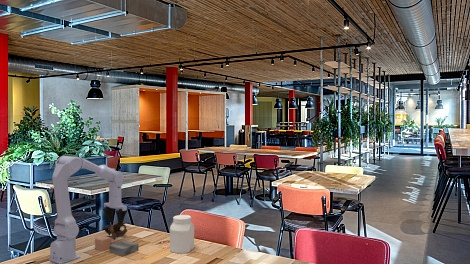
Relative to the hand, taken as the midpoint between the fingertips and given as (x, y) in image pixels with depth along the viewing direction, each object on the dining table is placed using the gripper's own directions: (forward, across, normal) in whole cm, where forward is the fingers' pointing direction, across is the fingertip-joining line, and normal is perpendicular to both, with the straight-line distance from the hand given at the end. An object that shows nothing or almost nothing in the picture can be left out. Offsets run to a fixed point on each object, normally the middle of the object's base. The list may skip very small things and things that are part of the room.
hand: (115, 223), depth 178 cm
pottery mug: (+10, +8, -7) cm, 15 cm away
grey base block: (+10, -12, +5) cm, 17 cm away
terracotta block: (+10, -2, +8) cm, 13 cm away
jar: (+10, -32, -12) cm, 36 cm away
